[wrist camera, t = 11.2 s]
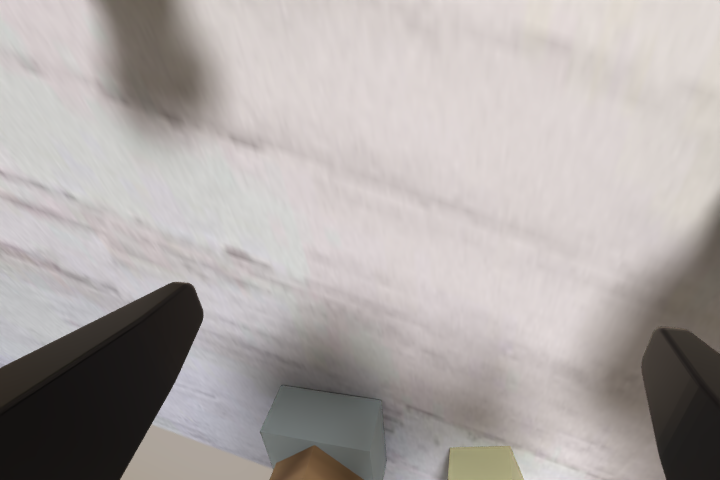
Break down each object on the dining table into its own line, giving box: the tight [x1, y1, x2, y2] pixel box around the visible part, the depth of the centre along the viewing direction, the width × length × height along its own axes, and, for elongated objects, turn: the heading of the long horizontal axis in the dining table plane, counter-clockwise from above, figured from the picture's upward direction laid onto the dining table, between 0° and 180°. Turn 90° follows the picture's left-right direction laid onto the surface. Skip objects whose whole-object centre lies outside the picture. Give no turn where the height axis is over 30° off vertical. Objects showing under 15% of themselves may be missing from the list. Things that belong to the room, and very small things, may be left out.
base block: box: [260, 385, 387, 480], centre depth 33 cm, size 8×8×4 cm
